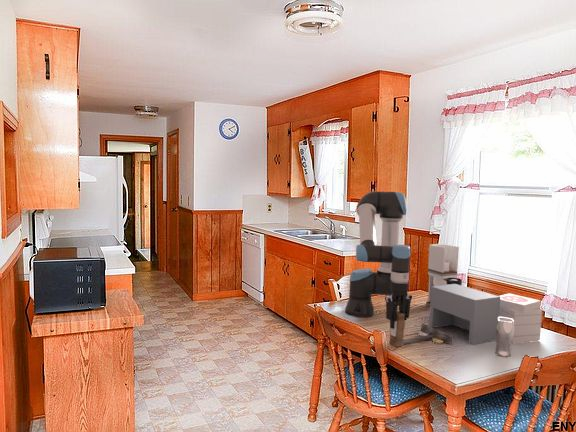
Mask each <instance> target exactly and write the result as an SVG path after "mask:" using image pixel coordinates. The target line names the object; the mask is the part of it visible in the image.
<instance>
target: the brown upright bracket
mask: <svg viewBox="0 0 576 432" xmlns="http://www.w3.org/2000/svg"><path fill="white" fill-rule="evenodd" d="M404 316H405V314H404V313H401V312H399V310H397V314H396V320H395V321H397V329H396V336H393V335H391V328H390V327H389V329H390V332H389V334H390V335H389V344H391V345H393V346H395V347H397V348H399V347H403V346H404V345H405V344H412V343H417V342H421V341H428V340H432V338H433V337H440V338H443V339H444V343H446V344H449V345H453V339H454V337H453V335H452V334H448V333H446V332H443V331H442V330H439V329H437V328H432V327H430V326H429V325H427V324H425V323H421V324H420V331H427V332H429V333H430V335H428V336H422V337H420V336H417V337H412V338H407V339H406V338H404V335H405V334H404V331H405V323H404Z"/></svg>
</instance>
